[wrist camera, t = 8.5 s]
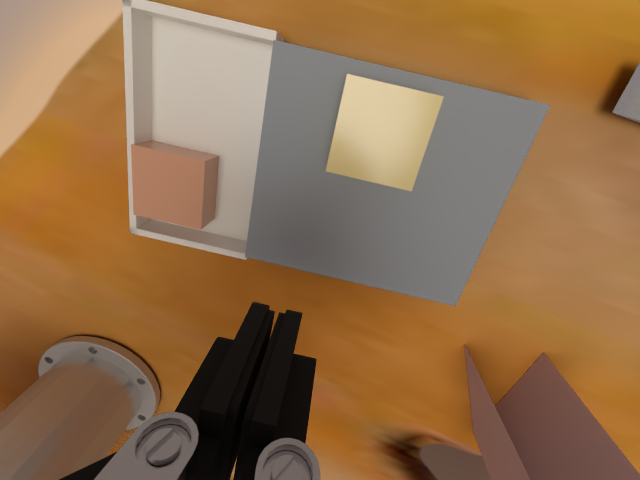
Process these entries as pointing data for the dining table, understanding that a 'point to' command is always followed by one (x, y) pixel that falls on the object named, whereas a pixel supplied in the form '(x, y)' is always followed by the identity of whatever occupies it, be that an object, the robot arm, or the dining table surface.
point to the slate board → (376, 199)
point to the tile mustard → (382, 132)
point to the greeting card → (542, 430)
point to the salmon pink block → (174, 183)
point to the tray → (198, 108)
